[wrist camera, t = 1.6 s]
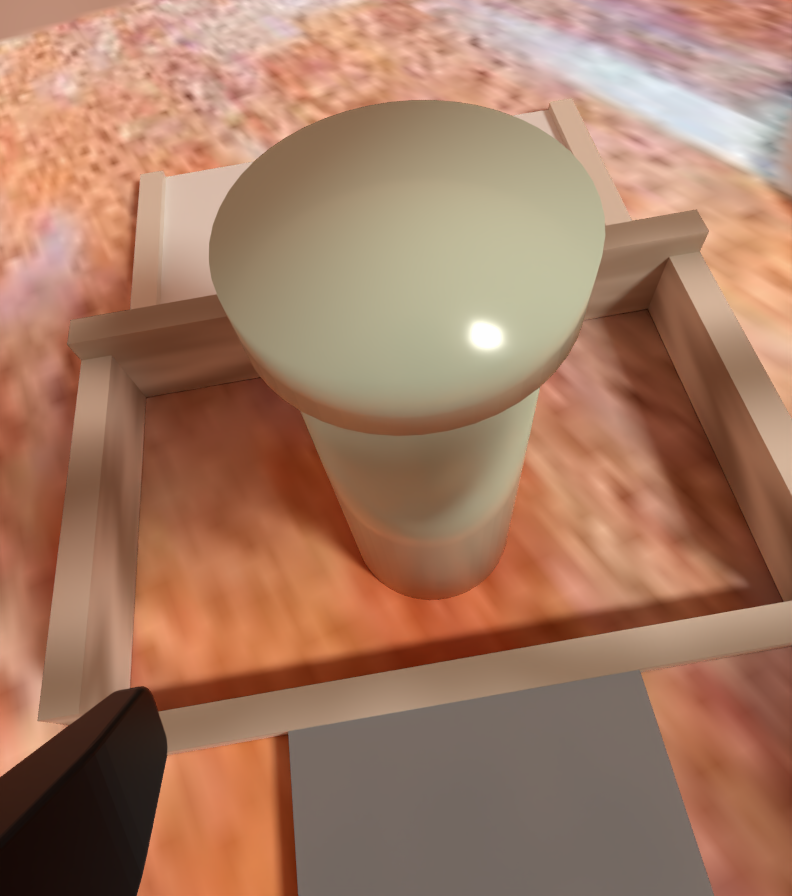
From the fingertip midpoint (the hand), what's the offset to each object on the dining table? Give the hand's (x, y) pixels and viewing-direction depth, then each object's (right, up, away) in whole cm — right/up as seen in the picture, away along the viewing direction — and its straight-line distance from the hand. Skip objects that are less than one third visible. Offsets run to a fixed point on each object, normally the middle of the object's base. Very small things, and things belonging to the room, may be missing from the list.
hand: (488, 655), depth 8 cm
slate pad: (+2, -10, +9) cm, 13 cm away
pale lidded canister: (0, 0, +14) cm, 14 cm away
